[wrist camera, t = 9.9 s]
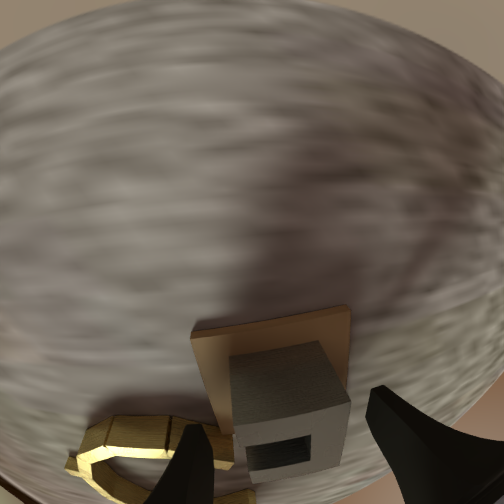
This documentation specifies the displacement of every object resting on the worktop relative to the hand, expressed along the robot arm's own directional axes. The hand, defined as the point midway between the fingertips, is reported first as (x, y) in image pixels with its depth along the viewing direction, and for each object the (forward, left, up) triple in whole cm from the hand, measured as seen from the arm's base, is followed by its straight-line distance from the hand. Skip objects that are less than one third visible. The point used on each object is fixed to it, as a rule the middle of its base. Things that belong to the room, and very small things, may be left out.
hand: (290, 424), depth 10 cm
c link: (0, 0, -3) cm, 3 cm away
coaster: (0, 0, -3) cm, 3 cm away
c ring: (-9, +10, -3) cm, 14 cm away
